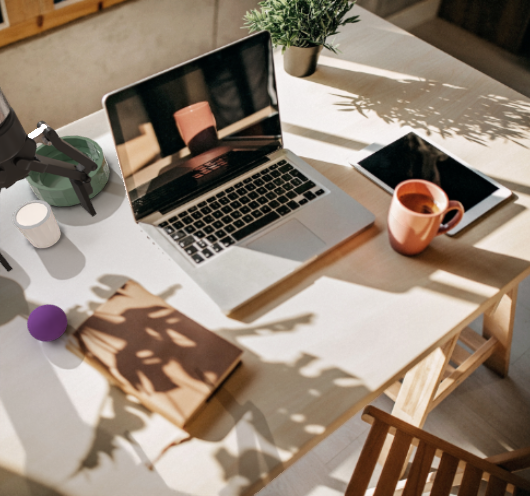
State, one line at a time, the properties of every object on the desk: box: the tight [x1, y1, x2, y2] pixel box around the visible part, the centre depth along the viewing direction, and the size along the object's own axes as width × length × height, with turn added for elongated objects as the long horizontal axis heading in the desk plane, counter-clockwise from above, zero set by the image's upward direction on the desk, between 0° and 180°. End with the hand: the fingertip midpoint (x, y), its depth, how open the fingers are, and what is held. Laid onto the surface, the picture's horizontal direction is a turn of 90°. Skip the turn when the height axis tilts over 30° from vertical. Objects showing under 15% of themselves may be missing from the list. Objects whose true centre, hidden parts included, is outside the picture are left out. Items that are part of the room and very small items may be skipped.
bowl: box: [25, 135, 111, 207], centre depth 101 cm, size 16×16×5 cm
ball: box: [26, 303, 68, 343], centre depth 80 cm, size 6×6×6 cm
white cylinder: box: [11, 199, 62, 249], centre depth 92 cm, size 7×7×7 cm
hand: (49, 236), depth 71 cm, fingers open, 13 cm apart
